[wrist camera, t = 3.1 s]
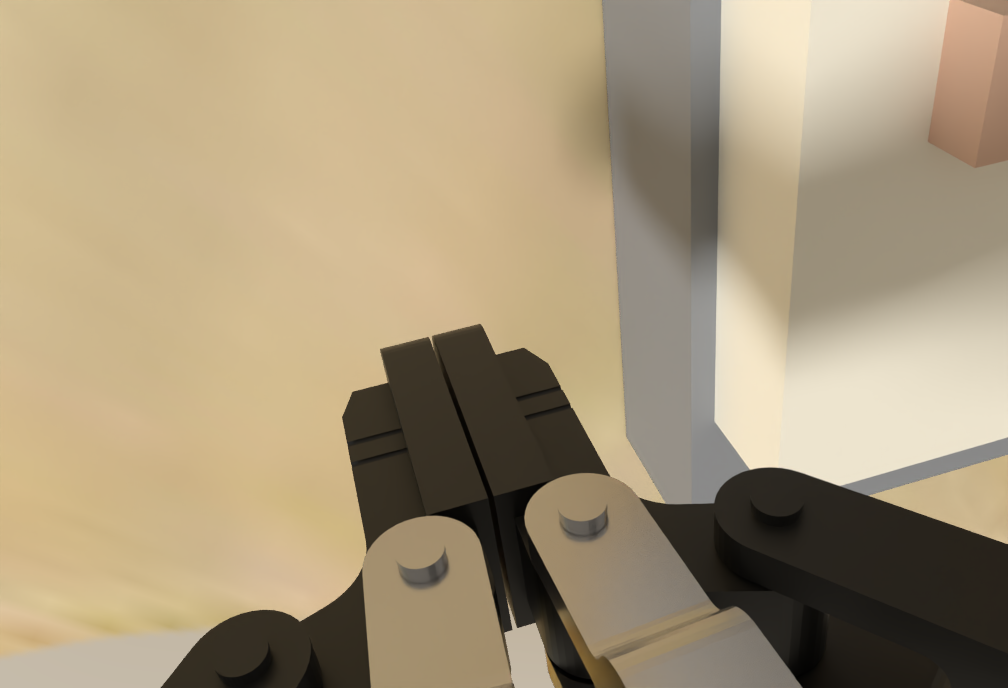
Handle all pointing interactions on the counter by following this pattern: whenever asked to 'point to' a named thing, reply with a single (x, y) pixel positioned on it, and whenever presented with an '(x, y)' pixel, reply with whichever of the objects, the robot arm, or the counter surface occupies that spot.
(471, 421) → the robot arm
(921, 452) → the cream rectangular slab
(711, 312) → the block
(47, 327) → the counter surface
